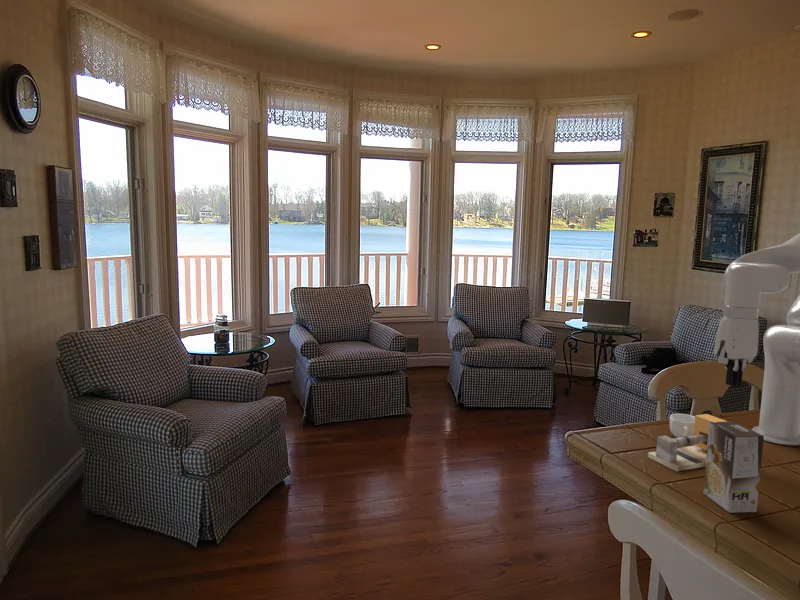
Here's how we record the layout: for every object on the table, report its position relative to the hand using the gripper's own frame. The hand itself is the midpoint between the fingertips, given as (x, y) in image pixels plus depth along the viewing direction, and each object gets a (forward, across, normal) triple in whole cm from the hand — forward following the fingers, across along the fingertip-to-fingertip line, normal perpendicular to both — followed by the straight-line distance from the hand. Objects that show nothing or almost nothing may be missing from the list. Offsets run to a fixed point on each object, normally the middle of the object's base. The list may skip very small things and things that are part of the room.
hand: (733, 385), depth 144 cm
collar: (+16, +6, 0) cm, 17 cm away
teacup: (+18, +1, -12) cm, 22 cm away
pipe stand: (+18, +11, 0) cm, 21 cm away
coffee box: (+19, +23, +20) cm, 36 cm away
